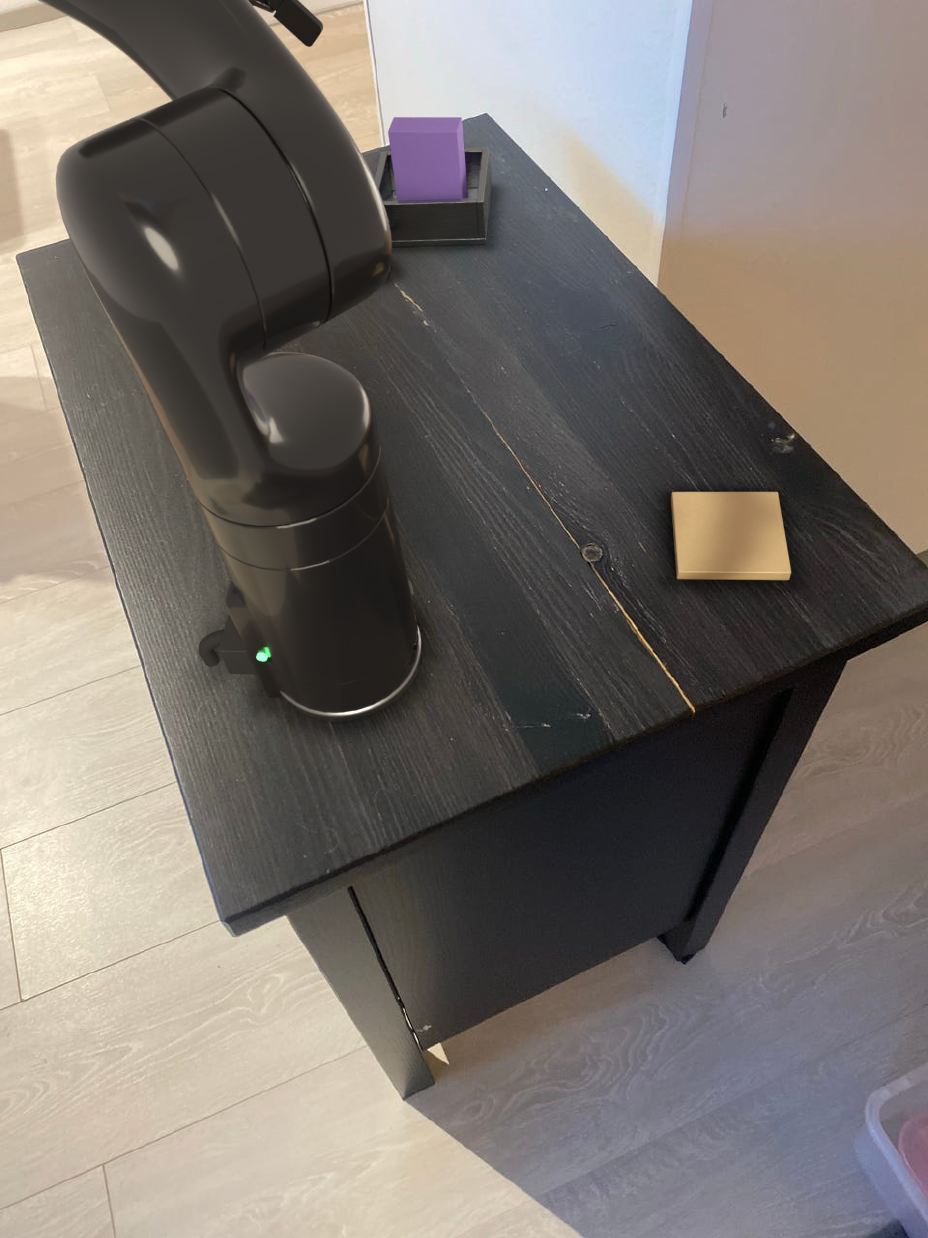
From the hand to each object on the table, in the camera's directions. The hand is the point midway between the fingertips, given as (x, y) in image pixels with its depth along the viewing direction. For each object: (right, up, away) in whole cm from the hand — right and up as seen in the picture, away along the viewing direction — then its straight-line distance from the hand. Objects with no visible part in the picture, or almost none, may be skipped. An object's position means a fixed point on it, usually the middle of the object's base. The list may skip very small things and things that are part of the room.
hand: (304, 60), depth 78 cm
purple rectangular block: (+10, -8, +9) cm, 16 cm away
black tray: (+10, -9, +10) cm, 17 cm away
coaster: (+30, -41, -16) cm, 53 cm away
